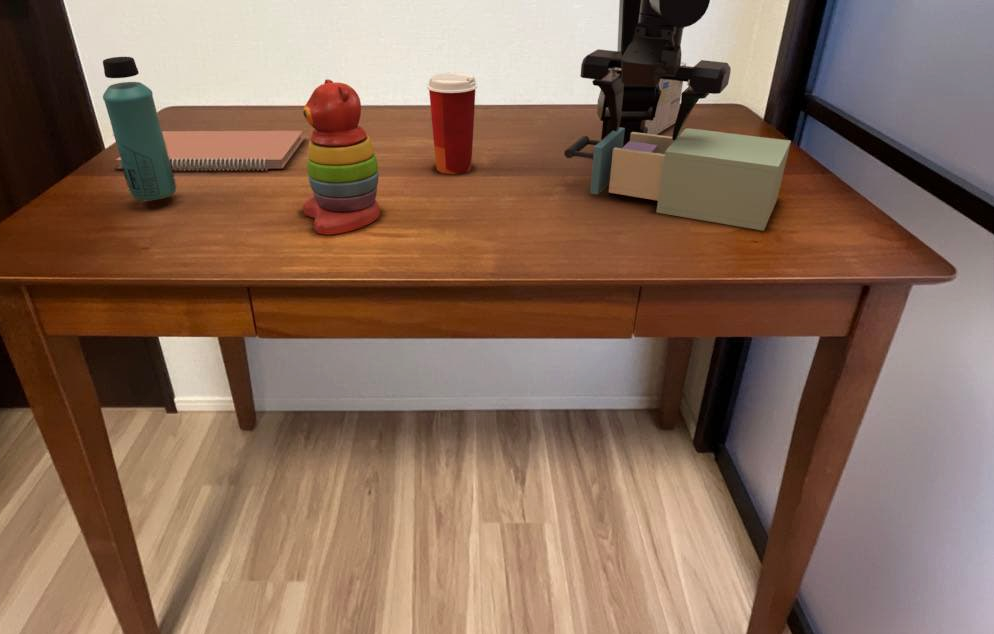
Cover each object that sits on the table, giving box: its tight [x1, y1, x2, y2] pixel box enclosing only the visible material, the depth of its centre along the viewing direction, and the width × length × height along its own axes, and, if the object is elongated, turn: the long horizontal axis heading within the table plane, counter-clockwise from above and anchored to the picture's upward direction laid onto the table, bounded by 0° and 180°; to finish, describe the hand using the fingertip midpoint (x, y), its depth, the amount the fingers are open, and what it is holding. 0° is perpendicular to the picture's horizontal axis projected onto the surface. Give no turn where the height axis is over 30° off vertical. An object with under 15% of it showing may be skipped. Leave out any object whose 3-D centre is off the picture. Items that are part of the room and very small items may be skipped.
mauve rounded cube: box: [623, 141, 658, 153], centre depth 102 cm, size 4×4×5 cm
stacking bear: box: [302, 78, 381, 235], centre depth 94 cm, size 11×10×18 cm
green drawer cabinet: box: [655, 127, 792, 232], centre depth 98 cm, size 14×12×9 cm
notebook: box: [114, 130, 305, 172], centre depth 122 cm, size 27×17×2 cm, turn 88°
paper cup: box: [426, 72, 478, 175], centre depth 111 cm, size 8×8×14 cm
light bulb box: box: [645, 61, 687, 135], centre depth 130 cm, size 11×7×11 cm, turn 144°
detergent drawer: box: [564, 127, 675, 202], centre depth 103 cm, size 18×10×7 cm, turn 62°
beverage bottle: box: [102, 56, 178, 202], centre depth 99 cm, size 6×7×20 cm
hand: (644, 135), depth 100 cm, fingers open, 8 cm apart
